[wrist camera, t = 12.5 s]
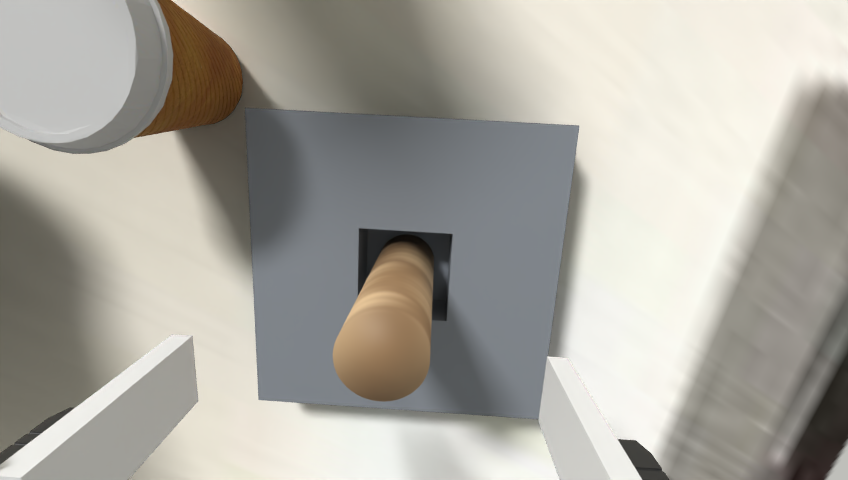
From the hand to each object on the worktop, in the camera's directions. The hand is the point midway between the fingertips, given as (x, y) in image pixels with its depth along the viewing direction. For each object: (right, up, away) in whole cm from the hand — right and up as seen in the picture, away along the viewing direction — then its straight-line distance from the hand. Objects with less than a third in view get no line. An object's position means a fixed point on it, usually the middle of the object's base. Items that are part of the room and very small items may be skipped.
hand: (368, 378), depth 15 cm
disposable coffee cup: (-13, +16, +13) cm, 25 cm away
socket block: (+1, +4, +16) cm, 16 cm away
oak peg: (+1, +4, +15) cm, 16 cm away
